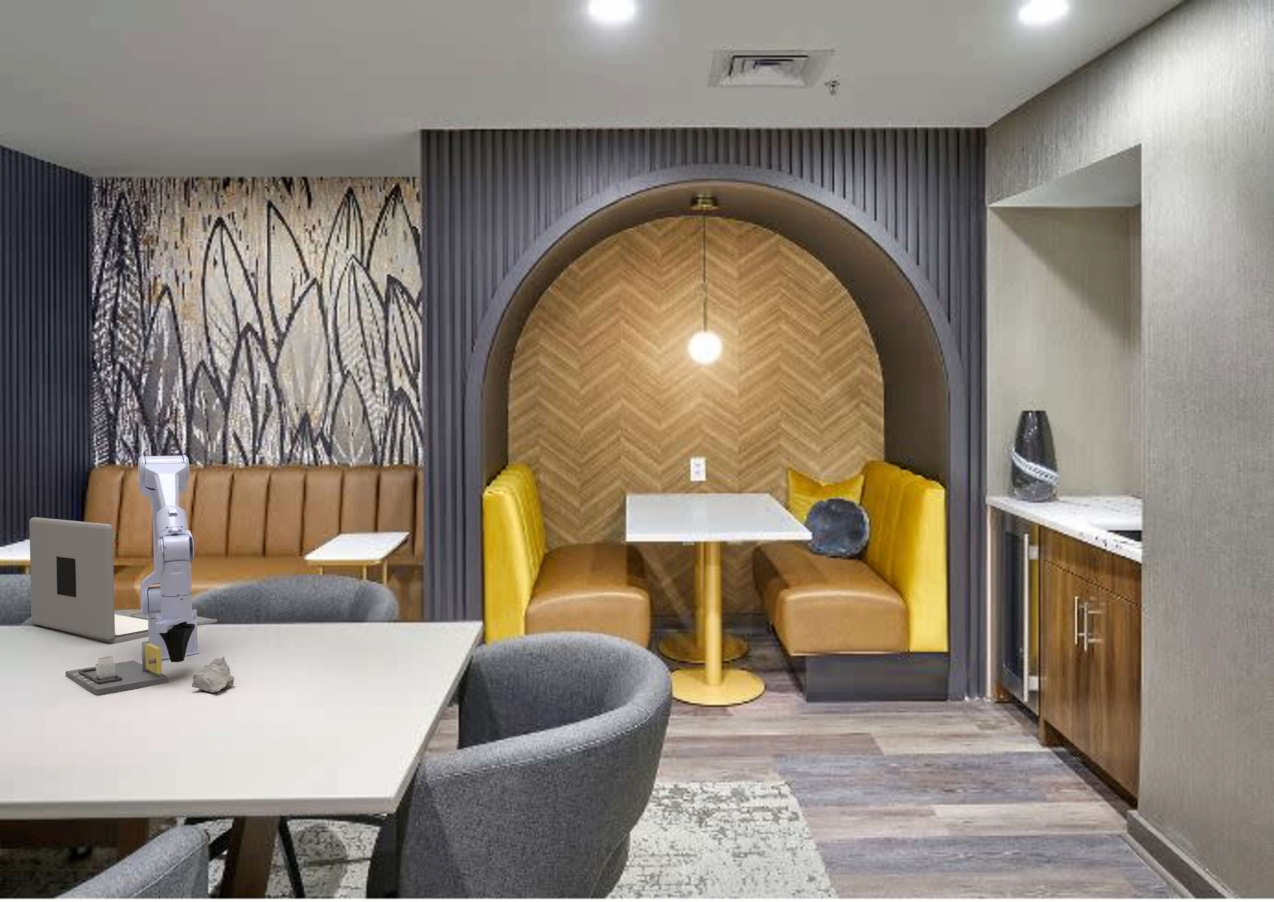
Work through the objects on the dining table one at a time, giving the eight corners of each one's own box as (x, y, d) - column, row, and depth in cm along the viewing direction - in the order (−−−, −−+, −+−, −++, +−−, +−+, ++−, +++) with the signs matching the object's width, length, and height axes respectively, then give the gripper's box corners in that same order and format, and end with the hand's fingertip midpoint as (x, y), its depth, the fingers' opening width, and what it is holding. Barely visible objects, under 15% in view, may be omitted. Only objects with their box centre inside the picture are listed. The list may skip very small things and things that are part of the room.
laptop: (219, 629, 249) (217, 515, 248) (107, 650, 226) (105, 524, 225) (140, 615, 269) (138, 509, 268) (30, 633, 245) (27, 517, 244)
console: (133, 665, 210) (133, 632, 210) (168, 682, 196) (168, 646, 196) (65, 677, 201) (64, 641, 200) (97, 695, 187) (96, 657, 186)
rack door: (149, 667, 200) (149, 643, 200) (161, 673, 195) (161, 648, 195) (139, 669, 199) (139, 644, 198) (151, 675, 194) (151, 649, 194)
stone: (249, 676, 199) (249, 655, 199) (220, 694, 187) (220, 672, 187) (218, 675, 199) (218, 654, 199) (187, 693, 187) (187, 671, 187)
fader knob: (111, 676, 195) (111, 655, 195) (115, 678, 194) (115, 657, 194) (96, 679, 193) (95, 657, 193) (100, 681, 192) (99, 659, 192)
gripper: (172, 588, 206) (173, 653, 206) (138, 600, 192) (140, 670, 192) (206, 588, 206) (207, 652, 207) (175, 600, 192) (176, 669, 192)
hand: (177, 661), depth 199 cm, fingers closed
